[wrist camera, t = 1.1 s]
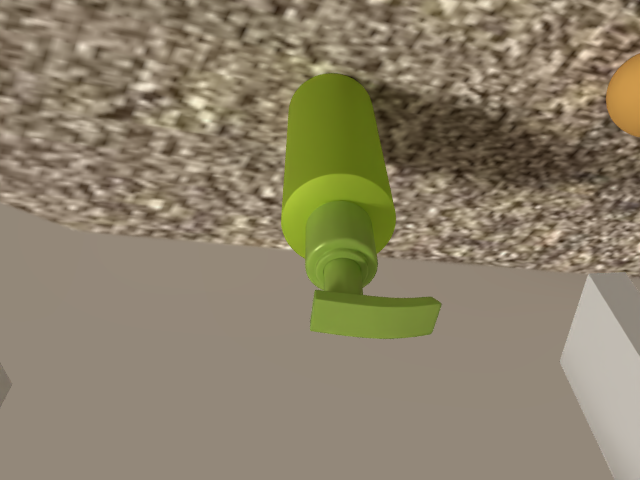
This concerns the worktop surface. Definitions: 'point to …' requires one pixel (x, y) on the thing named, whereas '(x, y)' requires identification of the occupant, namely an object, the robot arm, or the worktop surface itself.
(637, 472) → the robot arm
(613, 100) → the ball
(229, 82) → the worktop surface
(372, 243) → the soap dispenser
